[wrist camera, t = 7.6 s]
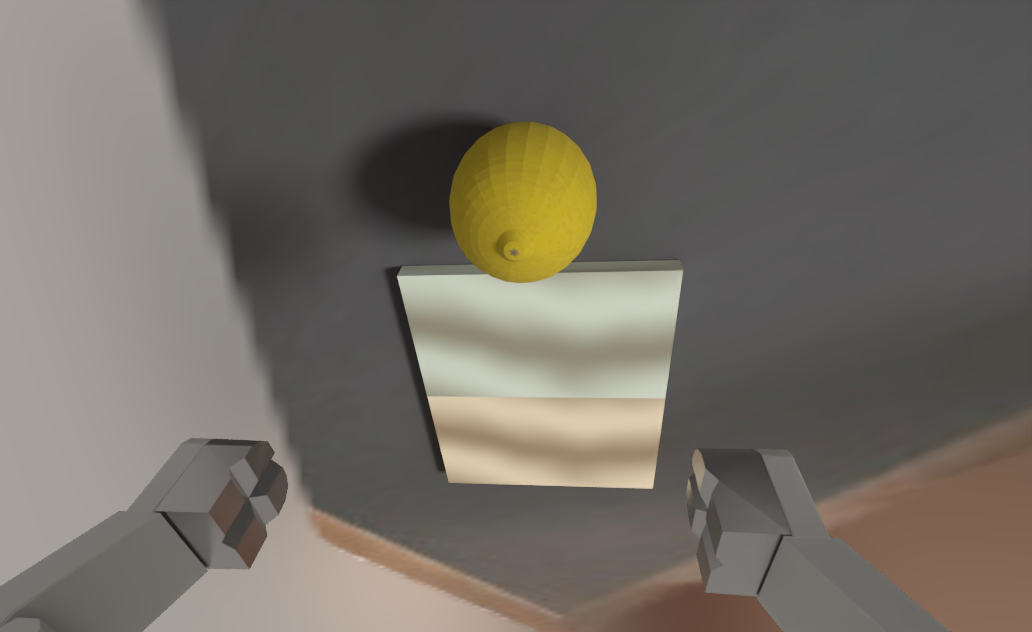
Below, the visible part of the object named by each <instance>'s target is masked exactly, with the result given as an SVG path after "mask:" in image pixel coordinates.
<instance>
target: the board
mask: <svg viewBox="0 0 1032 632" xmlns="http://www.w3.org/2000/svg"><path fill="white" fill-rule="evenodd" d="M682 275H683V269H682V266H681V263H680V260H651V261H606V262H571V263H570V264H569V265H568V266H567V267H565V268H564V269H563V270H561V271H560V272H558V273H556V274H555V275H553V276H552V277H549V278H546V279H543V280H540V281H537V282H529V283H513V282H506V281H503V280H500V279H497V278H494V277H492V276H490V275H488V274H487V273H485V272H483V271H481V270H480V269H478V268H477V267H476V266H475V265H474V264H471V265H425V266H402V268H401V269H400V271H399V273H398V275H397V278H398V282H399V286H400V290H401V294H402V298H403V302H404V306H405V310H406V314H407V318H408V322H409V326H410V330H411V334H412V338H413V342H414V346H415V350H416V354H417V358H418V362H419V366H420V370H421V374H422V378H423V382H424V385H425V389H426V393H427V397H428V401H429V405H430V409H431V413H432V417H433V421H434V425H435V429H436V433H437V437H438V441H439V445H440V449H441V453H442V457H443V461H444V465H445V469H446V473H447V477H448V481H449V483H480V484H514V485H547V486H581V487H615V488H649V489H653V483H654V476H655V468H656V461H657V454H658V447H659V440H660V433H661V425H662V418H663V411H664V404H665V397H666V389H667V382H668V375H669V368H670V361H671V354H672V346H673V339H674V332H675V325H676V318H677V310H678V303H679V296H680V289H681V282H682Z"/></svg>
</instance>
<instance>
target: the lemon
mask: <svg viewBox="0 0 1032 632" xmlns="http://www.w3.org/2000/svg"><path fill="white" fill-rule="evenodd" d="M449 204H450V216H451V225H452V228H453V231H454V234H455V237H456V240H457V242H458V244H459V246H460V248H461V249H462V251H463V252H464V254H465V255H466V257H467V258H468V259H469V260H470V261H471V262H472V263H473V264H474V265H475V266H476V267H477V268H478V269H480V270H481V271H483V272H485V273H487V274H488V275H490V276H492V277H494V278H497V279H500V280H503V281H506V282H513V283H529V282H537V281H540V280H543V279H546V278H549V277H552V276H553V275H555V274H556V273H558V272H560V271H561V270H563V269H564V268H565V267H567V266H568V265H569V264H570V263H571V262H572V261H573V259H574V258H575V257H576V256H577V255H578V254H579V253H580V251H581V250H582V248H583V246H584V244H585V242H586V241H587V239H588V237H589V235H590V233H591V230H592V226H593V222H594V218H595V214H596V209H597V199H596V183H595V180H594V177H593V173H592V170H591V167H590V164H589V162H588V160H587V159H586V157H585V156H584V154H583V153H582V151H581V150H580V148H579V147H578V145H576V144H575V143H574V142H573V141H572V140H571V139H570V138H569V137H568V136H567V135H566V134H564V133H562V132H560V131H559V130H557V129H555V128H553V127H551V126H549V125H545V124H541V123H536V122H532V121H530V122H512V123H509V124H506V125H502V126H499V127H496V128H494V129H493V130H491V131H490V132H488V133H486V134H485V135H483V136H482V137H480V138H479V139H478V140H477V141H476V142H475V143H474V144H473V145H472V146H471V148H470V149H469V150H468V151H467V152H466V153H465V154H464V156H463V158H462V160H461V162H460V164H459V166H458V168H457V170H456V172H455V174H454V177H453V182H452V188H451V193H450V199H449Z"/></svg>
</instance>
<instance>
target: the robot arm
mask: <svg viewBox="0 0 1032 632" xmlns="http://www.w3.org/2000/svg"><path fill="white" fill-rule="evenodd" d="M273 455H274V451H273V449H272V448H271V446H270V444H269V443H268V442H267V441H250V440H229V439H201V438H190V439H189V440H187V441H185V442H183V443H182V444H181V445H180V446H179V447H178V448H177V450H176V451H175V452H174V453H173V455H172V456H171V457H170V458H169V460H168V461H167V462H166V463H165V464H164V466H163V467H162V468H161V469H160V471H159V472H158V473H157V474H156V475H155V477H154V478H153V479H152V481H151V482H150V483H149V484H148V485H147V487H146V488H145V489H144V490H143V491H142V493H141V494H140V495H139V496H138V498H137V499H136V500H135V501H134V503H133V504H132V505H131V506H130V507H129V509H128V510H127V511H119V512H117V513H115V514H114V515H112V516H111V517H109V518H107V519H106V520H104V521H103V522H101V523H99V524H98V525H97V526H95V527H93V528H92V529H90V530H89V531H87V532H85V533H84V534H82V535H81V536H79V537H77V538H76V539H74V540H73V541H71V542H70V543H68V544H66V545H65V546H63V547H62V548H60V549H58V550H57V551H55V552H54V553H52V554H51V555H49V556H47V557H46V558H44V559H43V560H41V561H39V562H38V563H36V564H35V565H33V566H32V567H30V568H28V569H27V570H25V571H24V572H22V573H20V574H19V575H17V576H16V577H14V578H13V579H11V580H9V581H8V582H6V583H5V584H3V585H2V586H0V632H142V631H144V630H145V629H146V628H147V626H149V625H150V624H151V623H152V622H153V621H154V620H155V619H156V618H157V617H159V616H160V615H161V614H162V613H163V612H164V611H165V610H166V609H167V608H168V607H169V606H171V605H172V604H173V603H174V602H175V601H176V600H177V599H178V598H179V597H180V596H181V595H182V594H183V593H185V592H186V591H187V590H188V589H189V588H190V587H191V586H192V585H193V584H194V583H195V582H196V581H198V580H199V579H200V578H201V577H202V576H203V575H204V574H205V573H206V572H207V571H208V570H207V569H206V568H208V569H210V568H211V569H250V568H251V566H252V564H253V562H254V560H255V558H256V556H257V554H258V552H259V551H260V549H261V547H262V545H263V543H264V541H265V539H266V537H267V532H266V526H265V525H266V524H267V523H269V522H270V521H271V520H272V519H274V518H275V517H276V516H277V515H278V514H279V513H280V510H281V508H282V506H283V504H284V502H285V499H286V494H287V489H288V483H287V475H286V473H285V471H284V469H283V467H281V466H280V465H278V464H277V463H275V462H274V461H273V460H271V459H272V457H273ZM692 464H693V468H694V472H695V473H694V474H693V475H692V476H690V477H689V480H688V486H687V508H688V516H689V521H690V526H691V530H692V531H693V532H694V533H695V534H696V535H697V536H698V538H699V539H700V542H699V546H698V550H697V558H698V563H699V567H700V572H701V576H702V581H703V585H704V589H705V592H707V593H721V594H733V595H734V594H735V595H747V596H758V598H757V599H758V601H759V602H760V603H761V605H762V606H763V607H764V608H765V609H766V611H767V612H768V613H769V614H770V616H771V617H772V618H773V620H774V621H775V622H776V623H777V624H778V626H779V627H780V628H781V629H782V631H783V632H950V631H949V630H948V629H947V628H946V627H944V626H943V625H942V624H941V623H940V622H939V621H937V620H936V619H935V618H934V617H932V616H931V615H930V614H929V613H928V612H927V611H926V610H924V609H923V608H922V607H921V606H920V605H918V604H917V603H916V602H915V601H914V600H912V599H911V598H910V597H909V596H908V595H907V594H905V593H904V592H903V591H902V590H901V589H899V588H898V587H897V586H896V585H895V584H894V583H892V582H891V581H890V580H889V579H888V578H886V577H885V576H884V575H883V574H882V573H881V572H879V571H878V570H877V569H876V568H875V567H873V566H872V565H871V564H870V563H869V562H868V561H866V560H865V559H864V558H862V557H861V556H860V555H859V554H858V553H857V552H856V551H855V550H853V549H852V548H851V547H850V546H848V545H847V544H846V543H845V542H844V541H843V540H841V539H840V538H830V536H829V534H828V532H827V530H826V528H825V525H824V523H823V521H822V519H821V517H820V515H819V512H818V510H817V508H816V506H815V504H814V502H813V499H812V497H811V495H810V493H809V491H808V489H807V487H806V484H805V482H804V480H803V478H802V476H801V474H800V471H799V469H798V467H797V465H796V463H795V461H794V458H793V456H792V455H791V454H790V453H789V452H788V451H787V450H764V449H756V450H754V449H720V448H697V449H696V450H695V452H694V455H693V460H692Z"/></svg>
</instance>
